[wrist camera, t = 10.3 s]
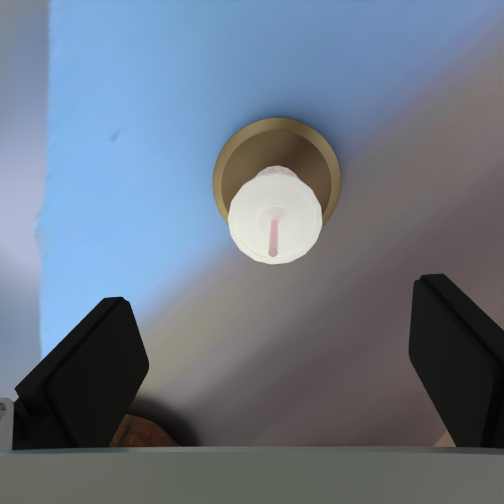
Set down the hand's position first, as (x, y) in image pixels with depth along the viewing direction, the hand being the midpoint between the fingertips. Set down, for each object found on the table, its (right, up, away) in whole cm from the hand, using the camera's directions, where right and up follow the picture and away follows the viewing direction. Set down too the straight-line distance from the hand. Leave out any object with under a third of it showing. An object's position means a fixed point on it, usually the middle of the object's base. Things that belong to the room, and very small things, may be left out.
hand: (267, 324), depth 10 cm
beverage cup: (+2, +8, +18) cm, 20 cm away
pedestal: (+2, +10, +22) cm, 24 cm away
